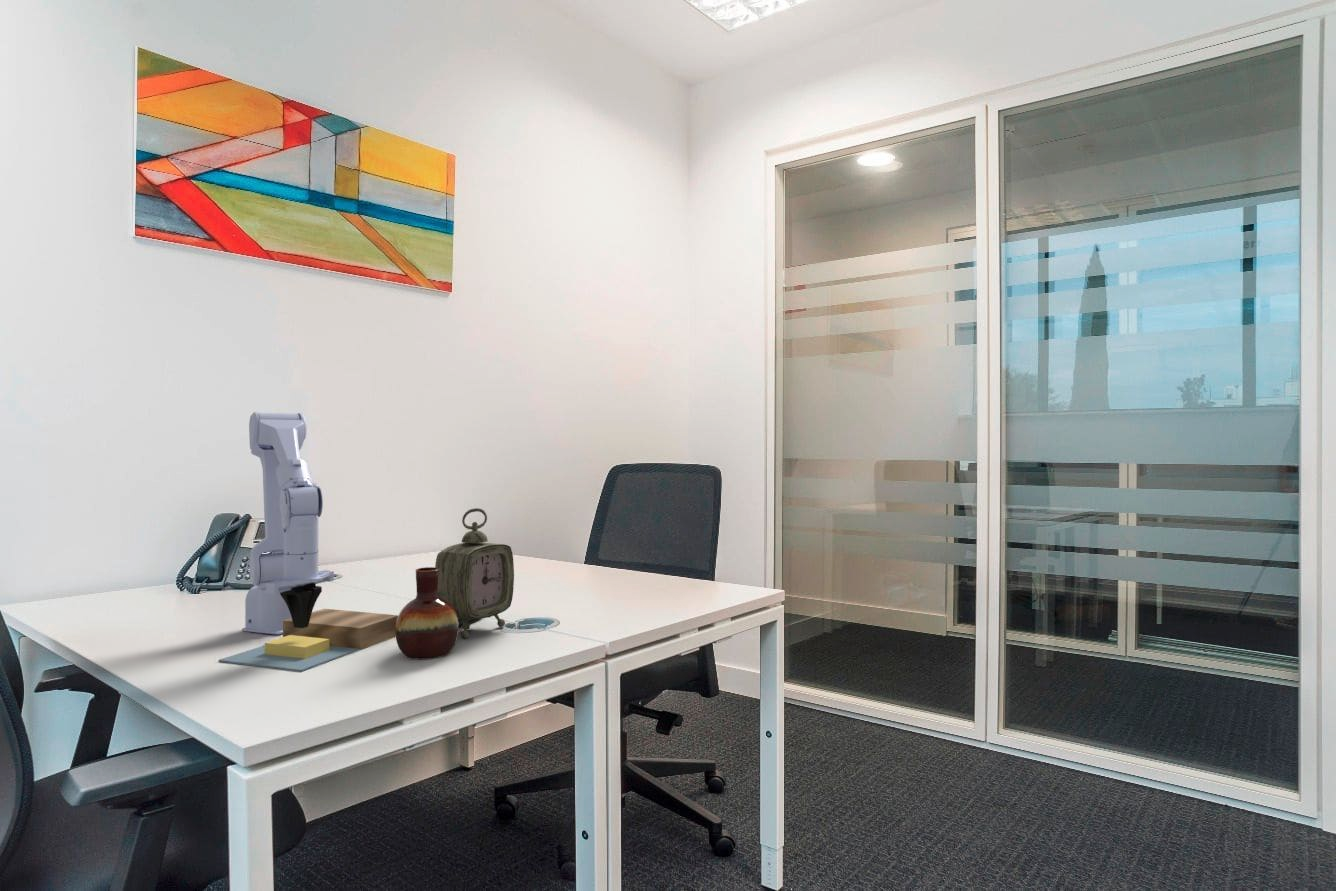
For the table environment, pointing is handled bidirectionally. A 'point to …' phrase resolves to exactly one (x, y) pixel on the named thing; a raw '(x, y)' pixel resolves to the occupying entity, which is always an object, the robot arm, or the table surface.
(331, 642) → the brown wooden block
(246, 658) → the mat
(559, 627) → the table surface
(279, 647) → the flat yellow block
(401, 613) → the vase
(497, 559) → the tabletop clock
